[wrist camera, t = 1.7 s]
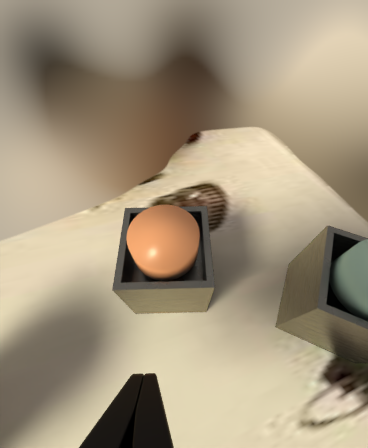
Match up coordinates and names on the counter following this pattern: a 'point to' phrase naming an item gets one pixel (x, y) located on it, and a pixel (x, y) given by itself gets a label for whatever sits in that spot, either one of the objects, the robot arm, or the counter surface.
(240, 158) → the counter surface
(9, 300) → the counter surface
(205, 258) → the orange button housing
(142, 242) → the orange button
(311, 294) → the teal button housing
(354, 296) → the teal button
